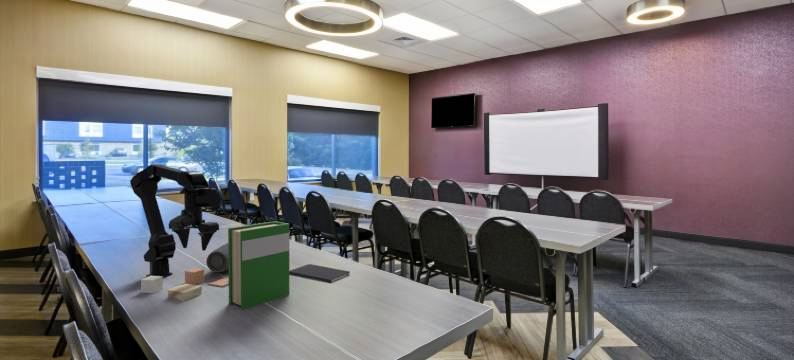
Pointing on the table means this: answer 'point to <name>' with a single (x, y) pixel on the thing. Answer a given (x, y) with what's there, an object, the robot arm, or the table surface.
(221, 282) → the tile
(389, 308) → the table surface
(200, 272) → the terracotta cube
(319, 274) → the notebook
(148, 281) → the offwhite cube
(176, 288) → the maple base block
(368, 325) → the table surface
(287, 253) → the hardback book
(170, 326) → the table surface
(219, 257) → the bluetooth speaker
